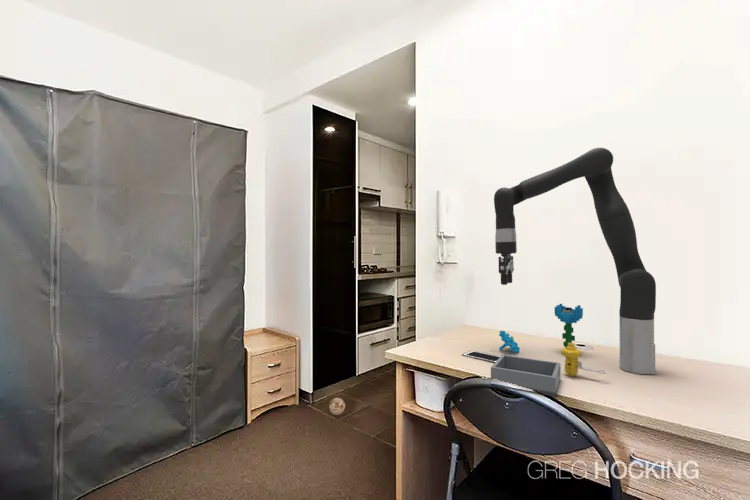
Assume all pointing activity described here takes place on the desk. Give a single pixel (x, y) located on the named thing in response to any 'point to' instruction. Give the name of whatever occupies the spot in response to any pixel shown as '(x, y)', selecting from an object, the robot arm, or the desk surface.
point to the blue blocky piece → (509, 342)
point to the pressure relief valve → (574, 361)
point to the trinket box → (337, 406)
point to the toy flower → (568, 320)
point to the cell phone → (481, 356)
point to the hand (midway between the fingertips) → (506, 283)
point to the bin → (528, 373)
